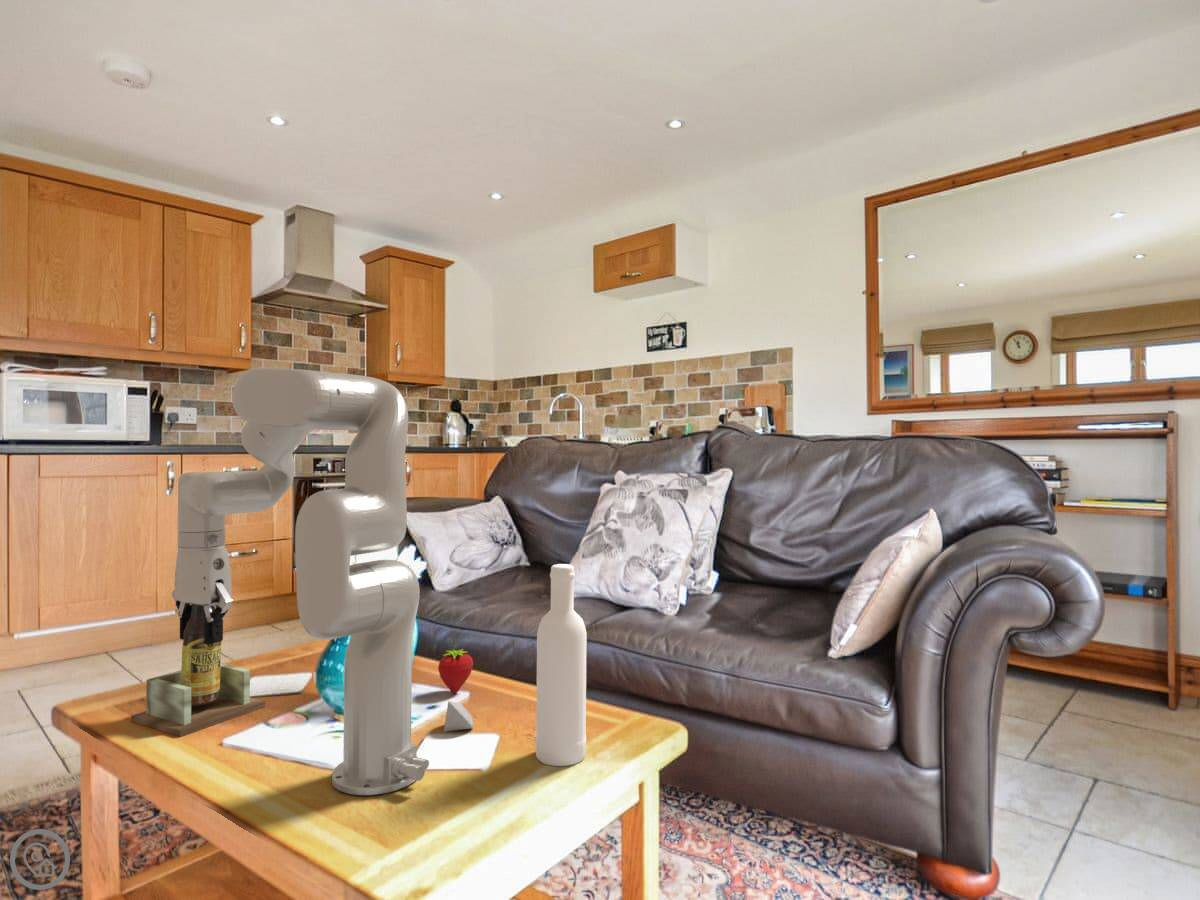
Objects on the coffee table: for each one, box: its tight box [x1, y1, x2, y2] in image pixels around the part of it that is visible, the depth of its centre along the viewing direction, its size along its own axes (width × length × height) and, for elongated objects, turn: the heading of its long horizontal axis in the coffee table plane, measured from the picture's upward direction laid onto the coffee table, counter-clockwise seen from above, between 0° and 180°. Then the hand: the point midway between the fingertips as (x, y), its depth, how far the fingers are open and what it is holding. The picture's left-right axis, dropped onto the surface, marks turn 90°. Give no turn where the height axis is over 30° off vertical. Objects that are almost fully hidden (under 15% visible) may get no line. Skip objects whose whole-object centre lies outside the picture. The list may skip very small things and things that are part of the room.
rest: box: [130, 663, 266, 738], centre depth 130 cm, size 14×16×7 cm
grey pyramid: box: [443, 700, 474, 733], centre depth 124 cm, size 6×6×5 cm
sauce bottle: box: [181, 600, 222, 705], centre depth 130 cm, size 6×6×20 cm
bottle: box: [535, 563, 588, 767], centre depth 113 cm, size 8×8×30 cm
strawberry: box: [437, 643, 474, 694], centre depth 142 cm, size 6×8×10 cm
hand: (201, 639), depth 130 cm, fingers closed on sauce bottle, 6 cm apart
